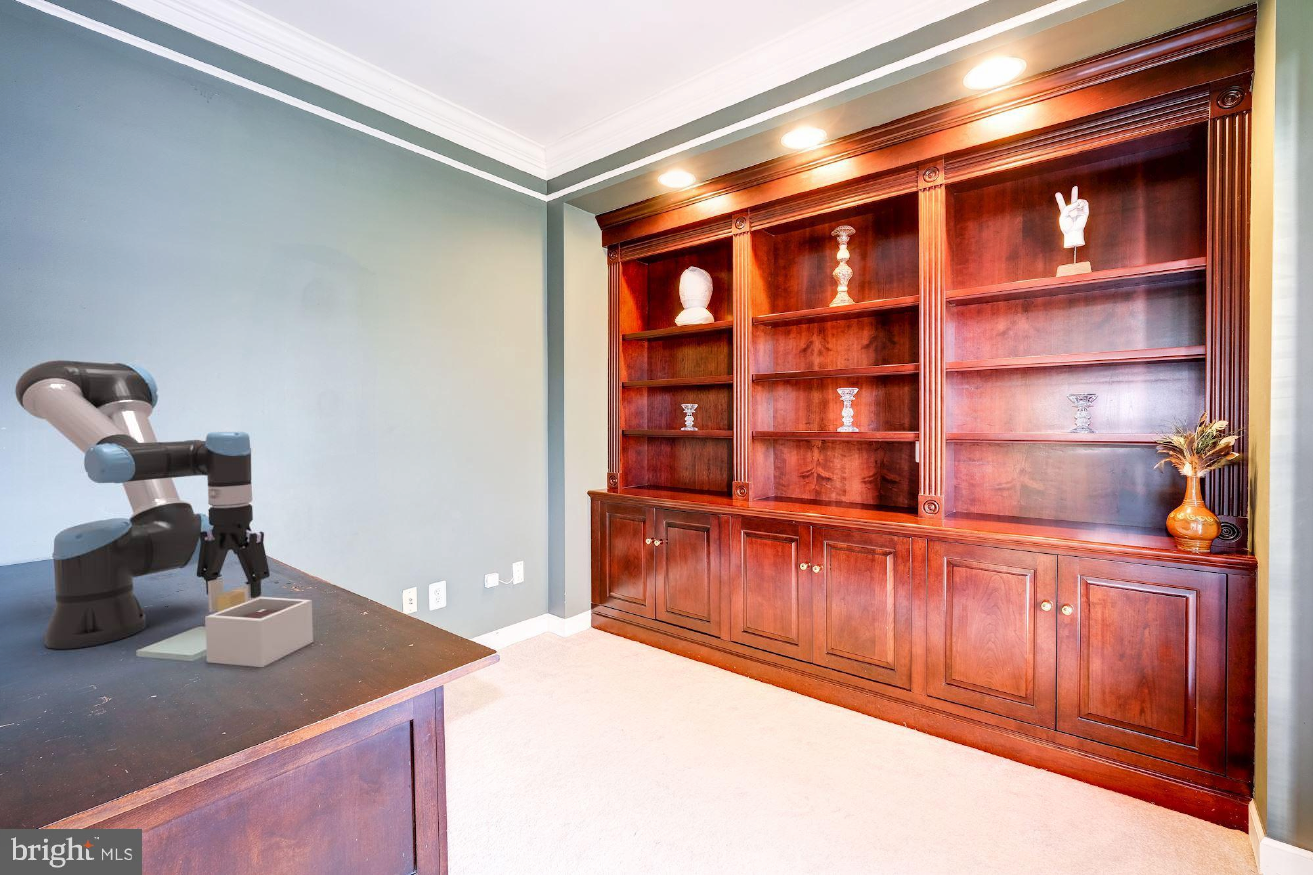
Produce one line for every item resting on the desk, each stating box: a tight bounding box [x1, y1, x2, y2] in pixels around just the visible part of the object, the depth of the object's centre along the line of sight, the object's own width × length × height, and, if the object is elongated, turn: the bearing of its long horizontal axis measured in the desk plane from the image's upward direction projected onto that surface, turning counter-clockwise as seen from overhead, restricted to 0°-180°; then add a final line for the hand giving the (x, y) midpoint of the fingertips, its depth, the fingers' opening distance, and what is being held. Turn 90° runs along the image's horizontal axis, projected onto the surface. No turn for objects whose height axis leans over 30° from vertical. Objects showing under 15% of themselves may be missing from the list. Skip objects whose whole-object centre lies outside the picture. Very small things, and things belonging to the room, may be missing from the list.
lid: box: [135, 588, 245, 662], centre depth 119 cm, size 13×18×8 cm
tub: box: [204, 596, 314, 668], centre depth 113 cm, size 12×12×8 cm
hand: (234, 610), depth 125 cm, fingers open, 8 cm apart
